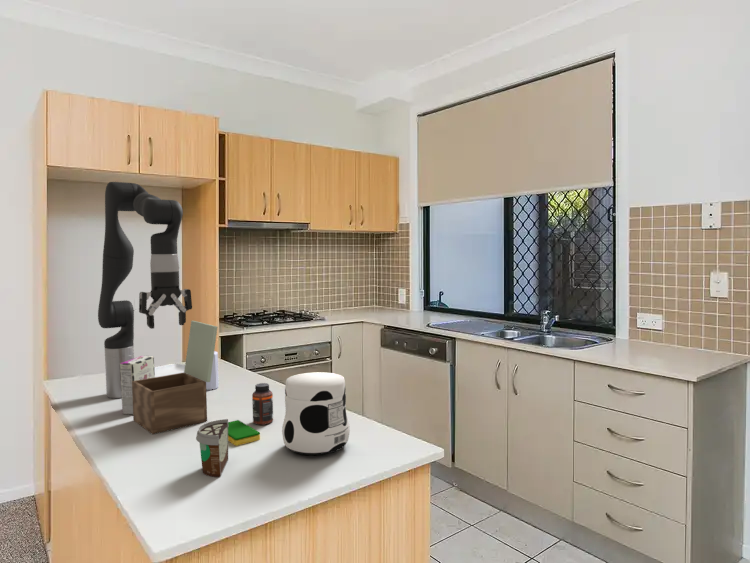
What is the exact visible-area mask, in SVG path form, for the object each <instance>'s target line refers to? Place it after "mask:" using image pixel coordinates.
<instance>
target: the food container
mask: <svg viewBox="0 0 750 563" xmlns="http://www.w3.org/2000/svg"><path fill="white" fill-rule="evenodd" d="M228 422H229V419H228V418H226V419H218V420H217V419H216V420H213V421H209V422H208V421H207V422H205V423H204V424H201V425H200V426H199V427H198V430H197V432H196V437H195V440H196V442H198V443H199V452H200V460H201V468H202V470H201V471H202V473H203V475H206V476H208V477H210V478H211V477H214V478H221V477H222V475H223V473H224V471H225V469H226V466H227V464H228V461H229V441H228V427H229V425H228Z"/></svg>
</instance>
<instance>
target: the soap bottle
mask: <svg viewBox="0 0 750 563" xmlns="http://www.w3.org/2000/svg"><path fill="white" fill-rule="evenodd" d="M191 376H192V375H191ZM198 379H199V378H198ZM219 381H220V380H219V352H218V351H216V350H214V357H213V364H212V372H211V379H210V382H206V381H205V382H206V391H212V389H213V390H217V389H219V384H220V383H219Z"/></svg>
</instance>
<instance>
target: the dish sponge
mask: <svg viewBox="0 0 750 563" xmlns="http://www.w3.org/2000/svg"><path fill="white" fill-rule="evenodd" d="M228 425H229V427H228V443H231V444H232V445H234V446H236V447H237V446H238V447H239V446H241V445H245V444H248V443H252V442H257V441H259V440H261V435H260V434H261V433H260V431H258V430H257V429H254V428H253V427H252V426H249V425H248V424H246V423H244V422H243V421H241V420H239V419H237V420H233V421H228Z"/></svg>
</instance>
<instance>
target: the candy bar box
mask: <svg viewBox="0 0 750 563" xmlns="http://www.w3.org/2000/svg"><path fill="white" fill-rule="evenodd" d="M154 367H155V357H154V355H153V356H152V355H140V356H138V357H134V359H131V360H128V361H126V362H123V363H120V377H121V394H122V398H121V406H122V407H121V408H122V415H129V416H130V415H131V416H133V396H132V381H137V380H143V379H148V378H154V377H155V371H154Z"/></svg>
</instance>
